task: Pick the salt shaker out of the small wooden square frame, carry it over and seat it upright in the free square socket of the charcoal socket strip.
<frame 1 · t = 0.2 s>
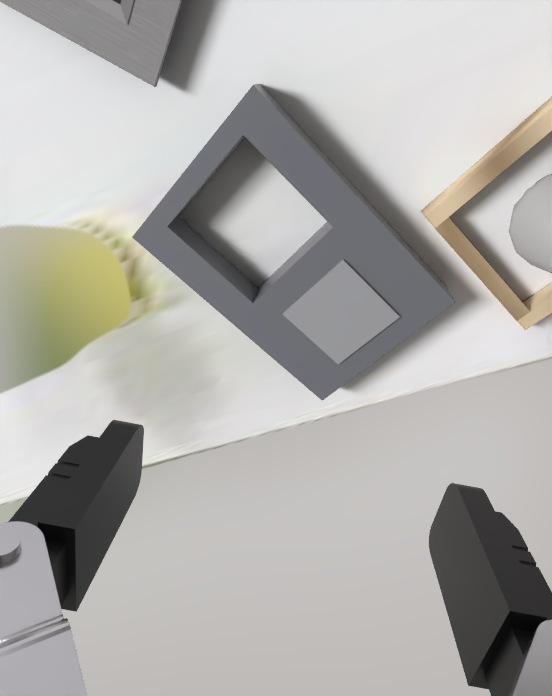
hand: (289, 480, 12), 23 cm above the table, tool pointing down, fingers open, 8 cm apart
salt shaker: (545, 210, 29), resting in wooden square frame
wooden square frame: (547, 210, 29), on the table
socket strip: (296, 256, 32), on the table
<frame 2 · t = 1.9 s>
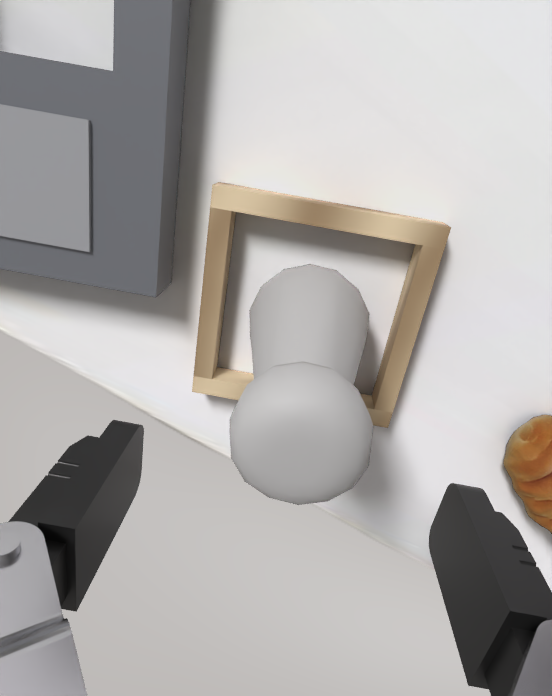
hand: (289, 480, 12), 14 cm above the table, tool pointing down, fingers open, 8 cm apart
salt shaker: (309, 306, 25), resting in wooden square frame
wooden square frame: (309, 308, 25), on the table
socket strip: (54, 70, 21), on the table
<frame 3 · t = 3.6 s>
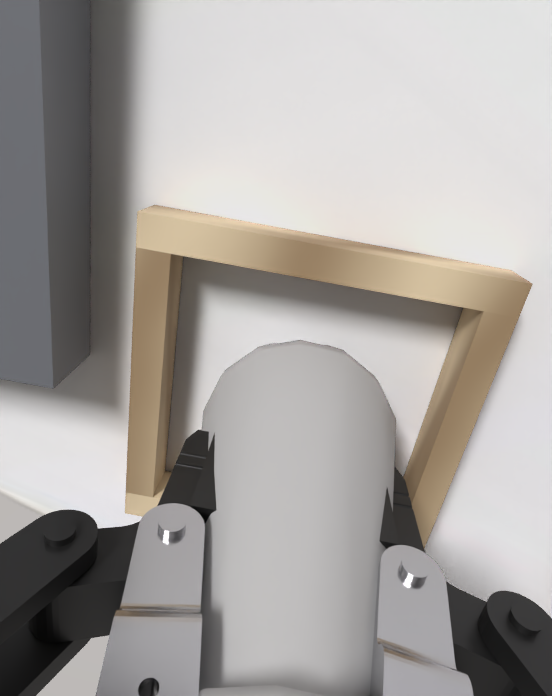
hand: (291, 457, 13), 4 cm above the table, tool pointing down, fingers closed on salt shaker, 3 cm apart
salt shaker: (299, 390, 16), resting in wooden square frame, touching gripper
wooden square frame: (299, 393, 16), on the table
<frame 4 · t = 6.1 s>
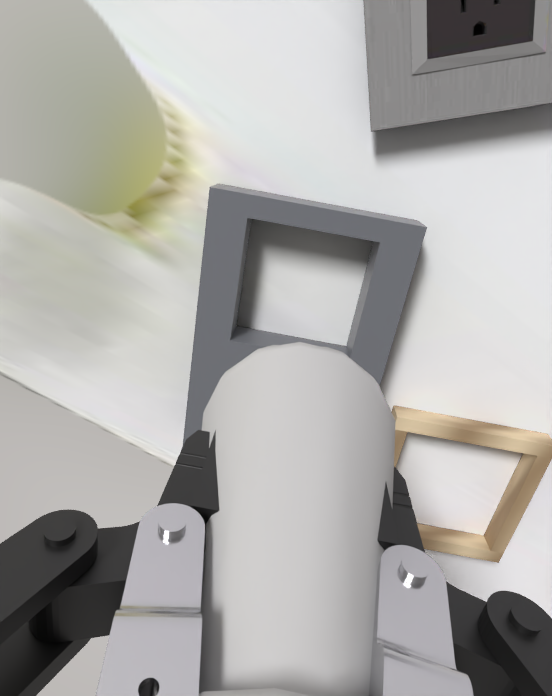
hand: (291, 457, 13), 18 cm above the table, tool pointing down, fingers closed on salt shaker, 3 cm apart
salt shaker: (299, 392, 16), point 14 cm above the table, touching gripper
wooden square frame: (445, 480, 35), on the table
socket strip: (290, 339, 31), on the table
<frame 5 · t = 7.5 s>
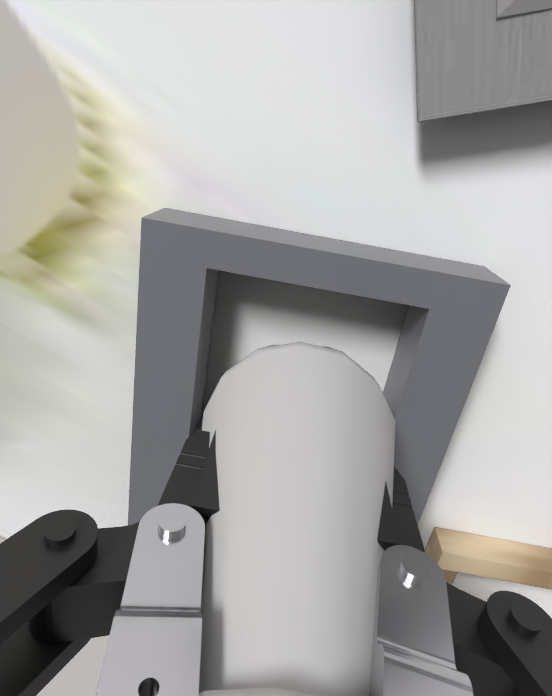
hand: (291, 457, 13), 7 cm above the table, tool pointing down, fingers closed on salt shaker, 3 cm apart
salt shaker: (299, 392, 16), point 3 cm above the table, touching gripper
wooden square frame: (505, 623, 24), on the table
socket strip: (282, 436, 21), on the table
when the fingers open (5 cm above the table, at t = 8.6 s): salt shaker stays where it is, resting in socket strip.
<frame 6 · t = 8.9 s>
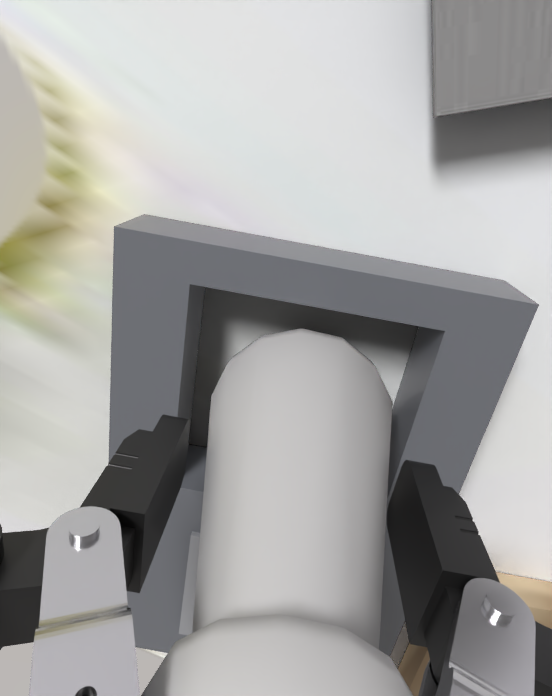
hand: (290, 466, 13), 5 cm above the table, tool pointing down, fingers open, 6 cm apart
salt shaker: (301, 378, 17), resting in socket strip
wooden square frame: (520, 663, 22), on the table
socket strip: (278, 466, 19), on the table
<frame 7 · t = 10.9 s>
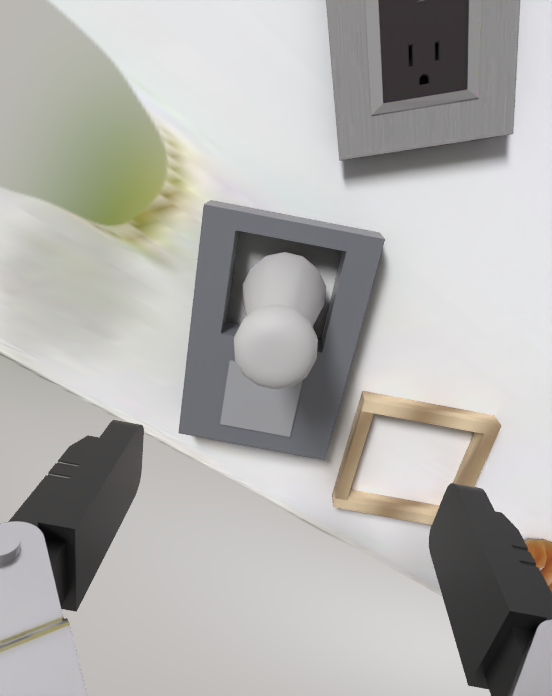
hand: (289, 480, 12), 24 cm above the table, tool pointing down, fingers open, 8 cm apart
salt shaker: (285, 284, 35), resting in socket strip
electrical outlet: (413, 31, 28), on the table
pastry: (548, 567, 44), on the table
wooden square frame: (408, 457, 40), on the table
socket strip: (273, 333, 36), on the table
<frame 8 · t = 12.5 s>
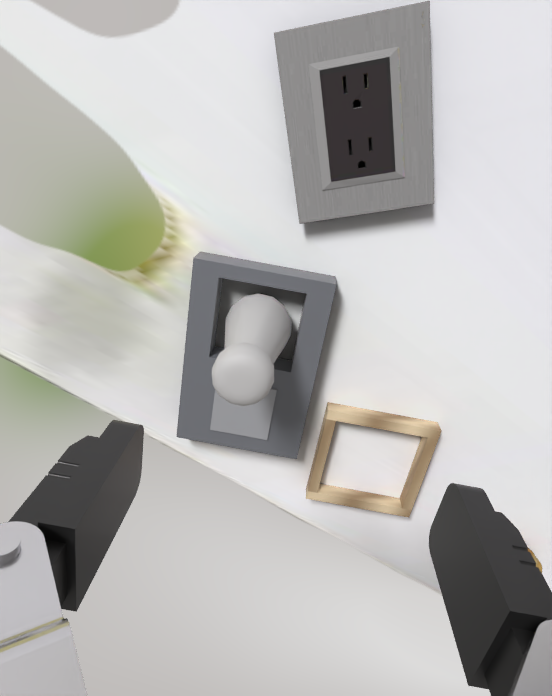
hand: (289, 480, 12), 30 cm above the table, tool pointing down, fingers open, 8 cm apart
salt shaker: (261, 316, 43), resting in socket strip
electrical outlet: (355, 124, 36), on the table
wooden square frame: (368, 457, 48), on the table
socket strip: (252, 355, 44), on the table
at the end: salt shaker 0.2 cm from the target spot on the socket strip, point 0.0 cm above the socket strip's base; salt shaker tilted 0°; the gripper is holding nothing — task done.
